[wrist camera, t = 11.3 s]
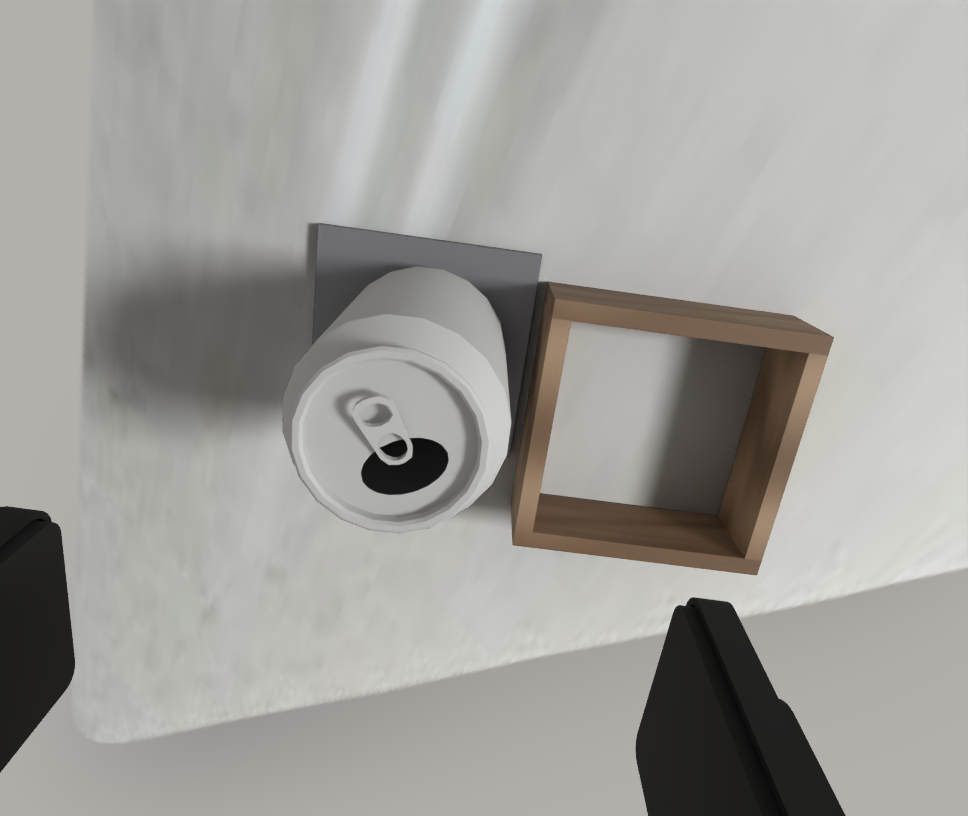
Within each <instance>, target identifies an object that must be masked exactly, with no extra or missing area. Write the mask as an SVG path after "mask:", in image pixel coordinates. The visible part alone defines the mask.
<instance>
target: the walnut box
mask: <svg viewBox="0 0 968 816" xmlns="http://www.w3.org/2000/svg"><path fill="white" fill-rule="evenodd" d="M571 321H576V322H583V323H591V324H598V325H605V326H613V327H620V328H627V329H635V330H642V331H649V332H657V333H664V334H671V335H679V336H686V337H693V338H701V339H708V340H715V341H723V342H730V343H737V344H745V345H752V346H759V347H767V349H766V352H765V356H764V359H763V363H762V366H761V370H760V373H759V377H758V380H757V383H756V387H755V390H754V394H753V397H752V401H751V404H750V408H749V411H748V414H747V418H746V421H745V425H744V428H743V432H742V435H741V439H740V442H739V446H738V449H737V452H736V456H735V459H734V463H733V466H732V470H731V473H730V477H729V480H728V483H727V487H726V490H725V494H724V497H723V501H722V504H721V508H720V511H719V514H718V516H714V515H706V514H698V513H690V512H682V511H674V510H666V509H658V508H650V507H642V506H635V505H627V504H619V503H611V502H603V501H595V500H587V499H579V498H571V497H563V496H556V495H548V494H540V489H541V483H542V478H543V472H544V467H545V461H546V456H547V451H548V445H549V440H550V434H551V429H552V423H553V418H554V412H555V407H556V402H557V396H558V391H559V385H560V380H561V374H562V369H563V363H564V358H565V352H566V347H567V342H568V336H569V331H570V325H571ZM833 339H834V337H833V336H831V335H829V334H827V333H825V332H823V331H821V330H819V329H818V328H816V327H814V326H812V325H810V324H808V323H806V322H804V321H802V320H801V319H799V318H797V317H795V316H792V315H784V314H777V313H770V312H763V311H755V310H748V309H741V308H734V307H726V306H719V305H712V304H705V303H697V302H690V301H683V300H676V299H668V298H661V297H654V296H647V295H639V294H632V293H625V292H618V291H611V290H603V289H596V288H589V287H582V286H574V285H567V284H560V283H553V282H548V283H547V289H546V295H545V301H544V307H543V313H542V319H541V325H540V331H539V337H538V343H537V349H536V355H535V361H534V367H533V373H532V379H531V385H530V391H529V397H528V403H527V408H526V414H525V420H524V426H523V432H522V438H521V444H520V450H519V456H518V462H517V468H516V474H515V480H514V486H513V492H512V498H511V522H512V541H513V545H516V546H524V547H532V548H540V549H548V550H556V551H564V552H572V553H580V554H588V555H597V556H605V557H613V558H621V559H629V560H637V561H645V562H653V563H661V564H669V565H677V566H685V567H694V568H702V569H710V570H718V571H726V572H734V573H742V574H750V575H757V573H758V570H759V567H760V564H761V561H762V558H763V555H764V552H765V549H766V546H767V543H768V540H769V536H770V533H771V530H772V527H773V524H774V521H775V518H776V515H777V512H778V509H779V506H780V502H781V499H782V496H783V493H784V490H785V487H786V484H787V481H788V478H789V475H790V472H791V468H792V465H793V462H794V459H795V456H796V453H797V450H798V447H799V444H800V441H801V438H802V435H803V431H804V428H805V425H806V422H807V419H808V416H809V413H810V410H811V407H812V404H813V401H814V397H815V394H816V391H817V388H818V385H819V382H820V379H821V376H822V373H823V370H824V367H825V363H826V360H827V357H828V354H829V351H830V348H831V345H832V342H833Z"/></svg>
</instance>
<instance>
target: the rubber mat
mask: <svg viewBox="0 0 968 816" xmlns="http://www.w3.org/2000/svg"><path fill="white" fill-rule="evenodd" d="M541 259H542V254H537V253H530V252H523V251H516V250H509V249H501V248H494V247H487V246H480V245H473V244H466V243H458V242H451V241H444V240H437V239H430V238H423V237H415V236H408V235H401V234H394V233H387V232H380V231H372V230H365V229H358V228H351V227H344V226H337V225H330V224H322V223H320V224H318V239H317V259H316V280H315V300H314V321H313V341H312V345H313V344H314V343H315V342H316V341H317V339H318V338H319V337H320V336H321V335H322V334H323V333H324V332H325V331H326V330H327V329H328V328H329V327H330V325H331V324H332V323H333V322H334V321H335V320H336V319H337V318H338V317H339V316H340V315H341V314H342V312H343V311H344V310H345V309H346V308H347V307H348V306H349V305H350V304H351V303H352V302H353V301H354V300H355V298H356V297H357V296H358V295H359V294H360V293H361V292H362V291H363V290H364V289H365V288H366V287H367V286H368V285H369V284H371V283H372V282H374V281H376V280H377V279H379V278H381V277H383V276H384V275H386V274H388V273H389V272H392V271H397V270H402V269H407V268H412V267H416V266H417V267H426V268H434V269H443V270H445V271H448V272H450V273H452V274H454V275H456V276H458V277H461V278H463V279H465V280H467V281H469V282H470V283H471V284H472V285H473V286H474V287H475V288H476V289H477V290H478V291H480V292H481V293H482V294H483V295H484V296H485V297H486V298H487V299H488V301H489V302H490V304H491V306H492V308H493V309H494V311H495V313H496V315H497V316H498V318H499V320H500V323H501V328H502V333H503V338H504V343H505V350H506V363H507V375H508V388H509V400H510V413H511V429H510V436H509V443H508V450H507V456H506V457H507V458H509V456H510V449H511V443H512V437H513V431H514V425H515V419H516V413H517V406H518V400H519V394H520V388H521V382H522V376H523V370H524V363H525V357H526V351H527V345H528V339H529V333H530V326H531V320H532V314H533V308H534V302H535V296H536V290H537V283H538V277H539V271H540V265H541Z"/></svg>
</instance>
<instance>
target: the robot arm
mask: <svg viewBox="0 0 968 816" xmlns="http://www.w3.org/2000/svg"><path fill="white" fill-rule="evenodd" d="M74 669H75V657H74V648H73V638H72V629H71V620H70V610H69V601H68V593H67V582H66V573H65V564H64V555H63V546H62V536H61V530H60V527H59V526H58V524H56V523H53V522H52V521H51V518H50V516H49V515H48V514H47V513H46V512H44V511H38V510H30V509H22V508H15V507H8V506H7V507H0V772H1V771H2V770H3V768H4V767H5V766H6V765H7V763H8V762H9V761H10V760H11V758H12V757H13V756H14V755H15V753H16V752H17V751H18V750H19V748H20V747H21V746H22V744H23V743H24V742H25V741H26V739H27V738H28V737H29V736H30V734H31V733H32V732H33V731H34V729H35V728H36V727H37V726H38V724H39V723H40V722H41V721H42V719H43V718H44V717H45V716H46V714H47V713H48V712H49V711H50V709H51V708H52V707H53V705H54V704H55V703H56V702H57V700H58V699H59V698H60V697H61V695H62V694H63V693H64V691H65V690H66V689H67V687H68V686H69V684H70V682H71V680H72V677H73V674H74ZM636 759H637V764H638V770H639V774H640V779H641V784H642V788H643V793H644V797H645V802H646V807H647V812H648V816H845V814H844V812H843V810H842V808H841V806H840V804H839V802H838V800H837V798H836V796H835V794H834V792H833V790H832V788H831V786H830V784H829V782H828V780H827V778H826V776H825V774H824V772H823V770H822V768H821V766H820V765H819V762H818V760H817V759H816V757H815V755H814V753H813V751H812V749H811V747H810V745H809V743H808V741H807V739H806V737H805V735H804V733H803V731H802V729H801V727H800V725H799V723H798V721H797V719H796V717H795V715H794V713H793V712H792V710H791V709H790V707H789V706H788V704H787V703H785V702H784V701H782V700H781V699H778V697H777V695H776V693H775V691H774V688H773V686H772V684H771V683H770V681H769V678H768V676H767V674H766V672H765V670H764V668H763V666H762V664H761V662H760V660H759V658H758V656H757V654H756V652H755V650H754V648H753V646H752V644H751V642H750V640H749V638H748V636H747V634H746V632H745V630H744V628H743V625H742V623H741V621H740V619H739V617H738V615H737V613H736V611H735V609H734V607H733V606H732V605H731V603H729V602H724V601H717V600H709V599H702V598H694V597H693V598H690V599H689V601H688V602H687V604H686V606H681V605H679V606H677V607H676V608H675V610H674V612H673V616H672V619H671V622H670V626H669V629H668V632H667V636H666V639H665V643H664V646H663V650H662V653H661V656H660V659H659V663H658V666H657V670H656V673H655V676H654V680H653V683H652V686H651V690H650V693H649V697H648V700H647V703H646V707H645V710H644V713H643V717H642V720H641V723H640V727H639V730H638V734H637V739H636Z"/></svg>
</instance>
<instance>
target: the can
mask: <svg viewBox="0 0 968 816" xmlns="http://www.w3.org/2000/svg"><path fill="white" fill-rule="evenodd" d="M510 429H511V413H510V400H509V388H508V375H507V363H506V350H505V343H504V338H503V333H502V328H501V323H500V320H499V318H498V316H497V315H496V313H495V311H494V309H493V308H492V306H491V304H490V302H489V301H488V299H487V298H486V297H485V296H484V295H483V294H482V293H481V292H480V291H478V290H477V289H476V288H475V287H474V286H473V285H472V284H471V283H470V282H469V281H467V280H465V279H463V278H461V277H458V276H456V275H454V274H452V273H450V272H448V271H445V270H443V269H434V268H426V267H417V266H416V267H412V268H407V269H402V270H397V271H392V272H389V273H388V274H386V275H384V276H383V277H381V278H379V279H377V280H376V281H374V282H372V283H371V284H369V285H368V286H367V287H366V288H365V289H364V290H363V291H362V292H361V293H360V294H359V295H358V296H357V297H356V298H355V300H354V301H353V302H352V303H351V304H350V305H349V306H348V307H347V308H346V309H345V310H344V311H343V312H342V314H341V315H340V316H339V317H338V318H337V319H336V320H335V321H334V322H333V323H332V324H331V325H330V327H329V328H328V329H327V330H326V331H325V332H324V333H323V334H322V335H321V336H320V337H319V338H318V339H317V341H316V342H315V343H314V344H313V345H312V346H311V348H310V349H309V350H308V351H307V352H306V353H305V355H304V356H303V357H302V358H301V359H300V361H299V362H298V363H297V364H296V365H295V367H294V369H293V372H292V375H291V378H290V380H289V383H288V386H287V388H286V391H285V394H284V396H283V434H284V437H285V440H286V443H287V446H288V449H289V452H290V455H291V458H292V461H293V464H294V465H295V467H296V470H297V473H298V476H299V477H300V479H301V480H302V482H303V483H304V484H305V486H306V487H307V488H308V490H309V491H310V493H311V494H312V495H313V497H314V498H315V499H316V501H318V502H319V503H320V504H322V505H323V506H324V507H325V508H327V509H328V510H329V511H331V512H332V513H333V514H335V515H336V516H337V517H339V518H340V519H342V520H344V521H347V522H349V523H352V524H355V525H357V526H360V527H362V528H365V529H367V530H372V531H382V532H391V533H404V532H410V531H416V530H421V529H427V528H430V527H432V526H434V525H436V524H438V523H440V522H442V521H444V520H446V519H448V518H450V517H452V516H454V515H456V514H457V513H458V512H459V511H461V510H463V509H465V508H467V507H469V506H470V505H471V504H472V503H473V502H474V501H475V500H476V499H477V498H478V497H479V496H480V495H481V494H482V493H483V492H484V491H485V490H487V489H488V488H489V487H490V486H491V485H492V483H493V481H494V479H495V477H496V475H497V473H498V472H499V470H500V468H501V466H502V464H503V462H504V460H505V458H506V456H507V450H508V443H509V436H510Z"/></svg>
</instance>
